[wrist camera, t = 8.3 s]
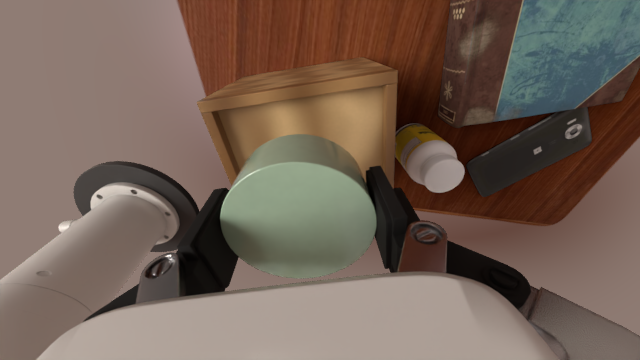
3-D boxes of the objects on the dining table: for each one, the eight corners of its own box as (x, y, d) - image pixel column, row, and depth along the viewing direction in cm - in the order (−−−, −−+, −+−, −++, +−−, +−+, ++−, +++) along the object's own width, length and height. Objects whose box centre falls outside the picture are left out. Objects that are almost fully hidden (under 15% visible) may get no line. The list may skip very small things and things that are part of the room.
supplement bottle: (438, 135, 31) (483, 170, 23) (409, 164, 33) (441, 206, 25) (409, 113, 29) (447, 143, 21) (381, 146, 32) (406, 185, 23)
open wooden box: (270, 165, 33) (248, 227, 22) (243, 76, 26) (195, 102, 16) (366, 152, 32) (393, 209, 21) (363, 57, 26) (398, 70, 15)
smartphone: (587, 141, 32) (593, 144, 31) (479, 196, 36) (483, 199, 36) (580, 97, 28) (587, 99, 28) (463, 163, 33) (466, 166, 32)
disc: (260, 243, 15) (249, 285, 12) (218, 145, 11) (190, 176, 9) (366, 229, 14) (378, 270, 12) (360, 123, 11) (375, 149, 8)
